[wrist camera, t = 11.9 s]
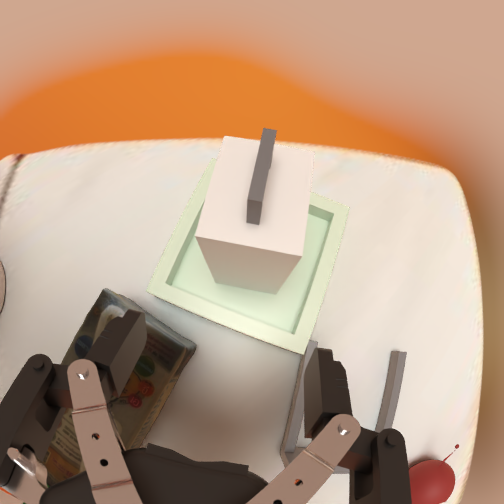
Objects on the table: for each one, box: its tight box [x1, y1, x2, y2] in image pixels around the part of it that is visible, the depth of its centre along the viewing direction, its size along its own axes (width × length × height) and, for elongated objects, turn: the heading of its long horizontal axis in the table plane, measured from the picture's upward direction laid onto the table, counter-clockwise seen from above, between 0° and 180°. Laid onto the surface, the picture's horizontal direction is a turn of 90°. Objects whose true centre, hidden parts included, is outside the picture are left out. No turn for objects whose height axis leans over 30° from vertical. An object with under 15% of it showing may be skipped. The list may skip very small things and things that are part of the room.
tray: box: [146, 158, 350, 355], centre depth 24 cm, size 13×13×2 cm
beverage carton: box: [43, 288, 196, 486], centre depth 18 cm, size 8×19×7 cm, turn 150°
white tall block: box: [195, 128, 315, 295], centre depth 18 cm, size 5×6×13 cm
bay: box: [280, 340, 407, 474], centre depth 20 cm, size 9×10×4 cm
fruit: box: [409, 444, 459, 504], centre depth 17 cm, size 6×6×8 cm
